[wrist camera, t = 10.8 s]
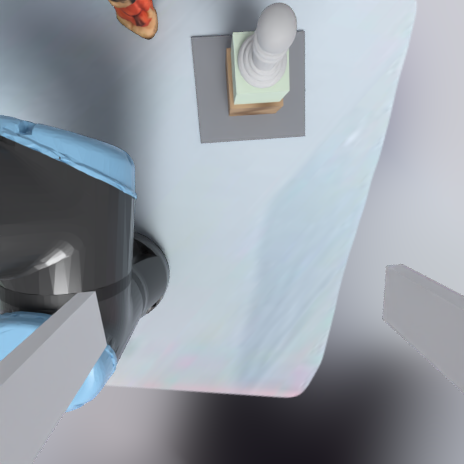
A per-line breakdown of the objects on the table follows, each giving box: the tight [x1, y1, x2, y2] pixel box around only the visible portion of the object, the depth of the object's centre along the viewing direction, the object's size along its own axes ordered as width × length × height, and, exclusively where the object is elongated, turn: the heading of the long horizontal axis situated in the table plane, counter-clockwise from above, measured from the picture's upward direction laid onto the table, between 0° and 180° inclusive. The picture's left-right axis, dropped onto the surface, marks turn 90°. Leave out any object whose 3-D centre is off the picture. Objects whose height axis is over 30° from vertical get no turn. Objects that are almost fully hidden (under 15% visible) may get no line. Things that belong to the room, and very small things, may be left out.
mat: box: [191, 31, 305, 143], centre depth 39 cm, size 16×14×1 cm
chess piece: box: [238, 3, 297, 88], centre depth 24 cm, size 5×5×9 cm
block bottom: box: [225, 48, 283, 116], centre depth 36 cm, size 7×7×5 cm
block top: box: [231, 31, 290, 105], centre depth 31 cm, size 6×6×5 cm
